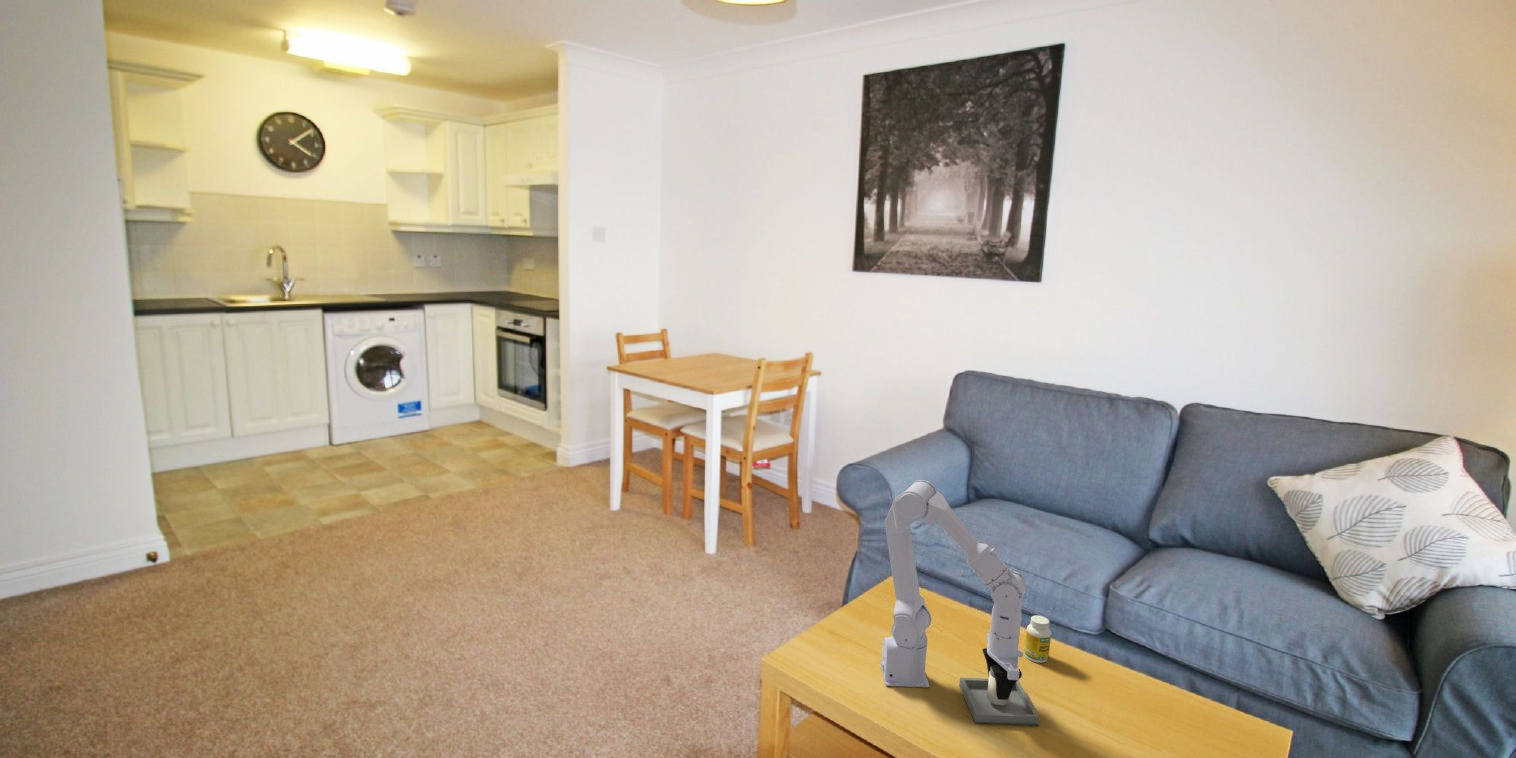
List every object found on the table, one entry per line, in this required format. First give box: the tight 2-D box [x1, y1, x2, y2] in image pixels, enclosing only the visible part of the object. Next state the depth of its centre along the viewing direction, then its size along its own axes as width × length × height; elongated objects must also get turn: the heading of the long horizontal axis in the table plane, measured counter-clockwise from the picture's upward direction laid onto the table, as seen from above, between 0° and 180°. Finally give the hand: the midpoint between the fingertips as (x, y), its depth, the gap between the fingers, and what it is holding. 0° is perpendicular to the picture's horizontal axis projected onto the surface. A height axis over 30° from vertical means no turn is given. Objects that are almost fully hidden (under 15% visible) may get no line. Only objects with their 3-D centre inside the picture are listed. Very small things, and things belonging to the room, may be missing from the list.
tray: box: [958, 677, 1040, 727], centre depth 151 cm, size 13×13×2 cm
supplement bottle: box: [1023, 614, 1052, 664], centre depth 169 cm, size 5×5×10 cm
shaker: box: [987, 665, 1010, 706], centre depth 150 cm, size 4×4×6 cm
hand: (998, 691), depth 151 cm, fingers closed on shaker, 4 cm apart
